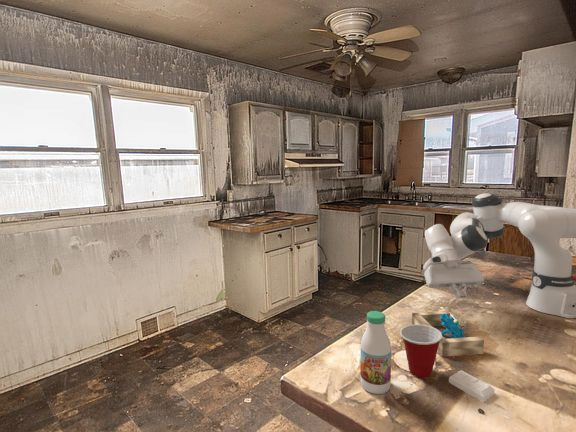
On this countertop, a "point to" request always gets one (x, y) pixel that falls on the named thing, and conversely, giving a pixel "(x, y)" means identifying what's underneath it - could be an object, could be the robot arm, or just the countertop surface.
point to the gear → (451, 326)
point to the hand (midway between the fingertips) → (462, 297)
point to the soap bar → (471, 385)
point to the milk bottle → (375, 355)
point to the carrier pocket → (454, 344)
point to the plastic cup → (421, 348)
